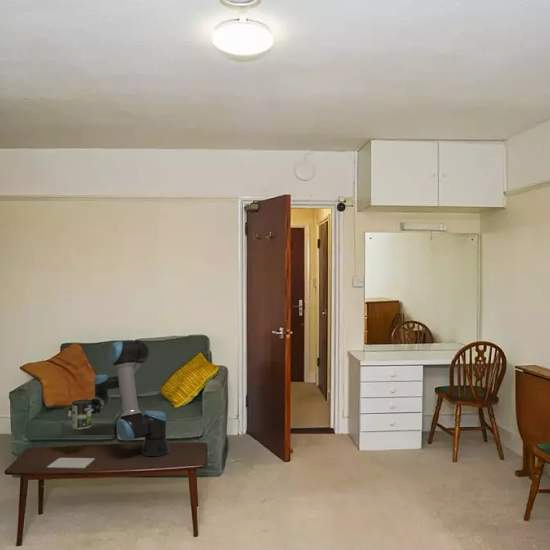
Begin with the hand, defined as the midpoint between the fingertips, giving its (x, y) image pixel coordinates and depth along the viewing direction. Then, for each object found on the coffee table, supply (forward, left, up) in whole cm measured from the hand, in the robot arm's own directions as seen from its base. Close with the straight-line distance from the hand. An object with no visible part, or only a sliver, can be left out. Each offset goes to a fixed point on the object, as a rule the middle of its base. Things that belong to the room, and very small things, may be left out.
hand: (78, 414), depth 289 cm
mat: (0, +9, -24) cm, 25 cm away
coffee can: (0, -4, -8) cm, 9 cm away
